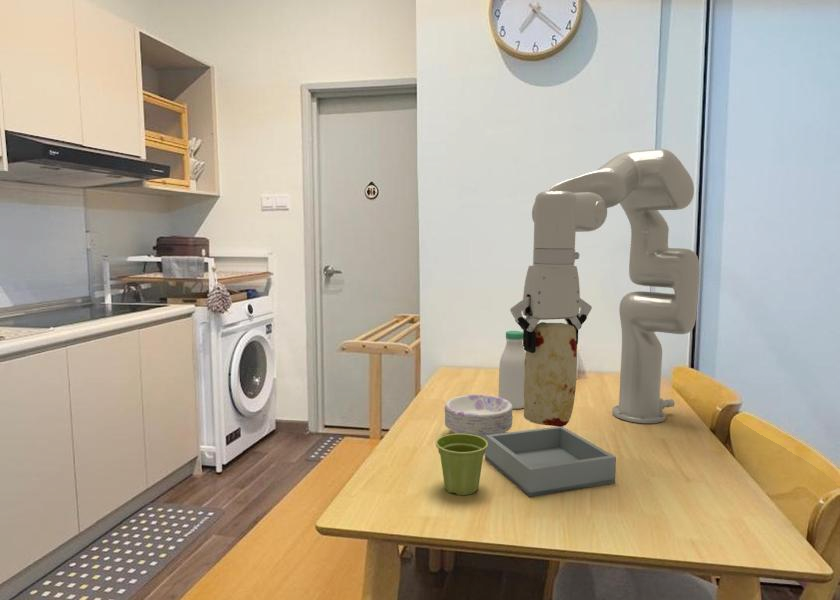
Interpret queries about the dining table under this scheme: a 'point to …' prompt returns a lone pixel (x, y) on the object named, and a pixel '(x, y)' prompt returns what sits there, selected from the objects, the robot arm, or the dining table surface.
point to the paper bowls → (478, 415)
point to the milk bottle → (512, 370)
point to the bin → (549, 460)
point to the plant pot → (461, 461)
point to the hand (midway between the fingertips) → (550, 349)
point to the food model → (551, 375)
